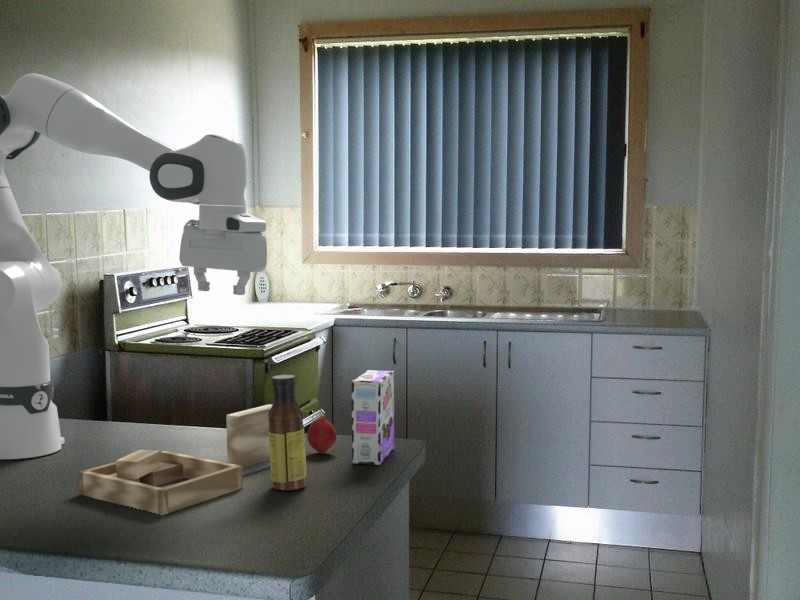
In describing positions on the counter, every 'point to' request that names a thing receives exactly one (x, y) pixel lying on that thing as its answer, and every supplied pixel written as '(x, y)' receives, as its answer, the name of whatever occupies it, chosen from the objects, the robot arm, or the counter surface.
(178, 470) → the offcut walnut
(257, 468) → the felt pad
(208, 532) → the counter surface
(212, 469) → the wooden tray
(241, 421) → the pale wooden block
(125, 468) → the offcut beech
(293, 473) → the sauce bottle
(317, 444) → the onion
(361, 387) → the candy box
